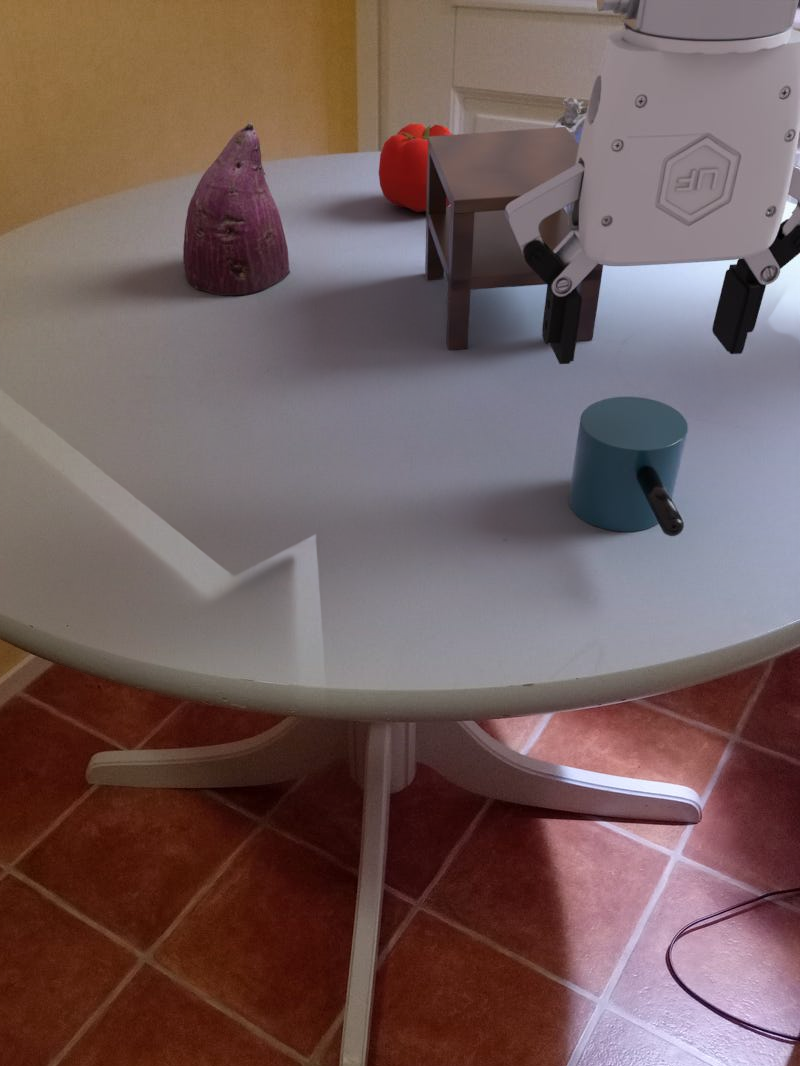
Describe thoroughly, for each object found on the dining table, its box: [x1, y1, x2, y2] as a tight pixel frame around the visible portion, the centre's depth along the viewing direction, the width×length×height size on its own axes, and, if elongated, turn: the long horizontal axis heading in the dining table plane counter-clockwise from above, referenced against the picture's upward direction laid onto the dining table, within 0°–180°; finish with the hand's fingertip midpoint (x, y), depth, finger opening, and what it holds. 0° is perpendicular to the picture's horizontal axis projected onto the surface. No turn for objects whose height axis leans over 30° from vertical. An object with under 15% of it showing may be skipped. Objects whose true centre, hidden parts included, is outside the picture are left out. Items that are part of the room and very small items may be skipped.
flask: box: [552, 96, 588, 214], centre depth 98 cm, size 9×3×11 cm, turn 152°
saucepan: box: [568, 396, 689, 537], centre depth 60 cm, size 6×12×6 cm, turn 2°
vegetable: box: [182, 121, 291, 296], centre depth 91 cm, size 10×10×15 cm
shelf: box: [424, 127, 604, 351], centre depth 83 cm, size 12×16×12 cm
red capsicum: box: [378, 123, 453, 213], centre depth 103 cm, size 9×9×8 cm
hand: (643, 348), depth 56 cm, fingers open, 9 cm apart
